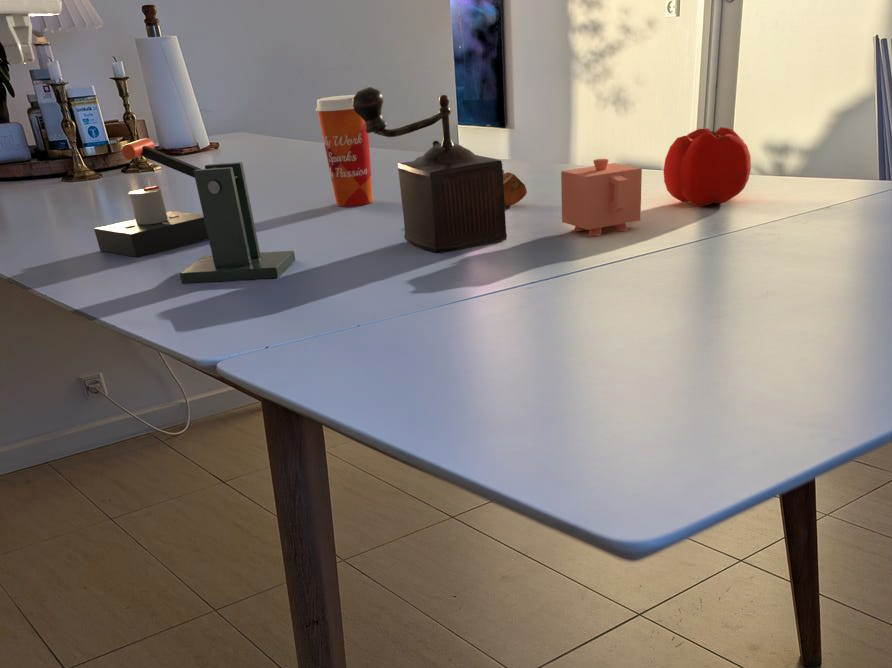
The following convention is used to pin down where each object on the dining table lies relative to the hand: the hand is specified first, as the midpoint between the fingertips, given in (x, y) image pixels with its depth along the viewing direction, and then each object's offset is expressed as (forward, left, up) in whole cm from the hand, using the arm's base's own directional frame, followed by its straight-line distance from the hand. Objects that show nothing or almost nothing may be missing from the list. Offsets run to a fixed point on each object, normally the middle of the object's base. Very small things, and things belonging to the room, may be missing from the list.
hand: (22, 63), depth 106 cm
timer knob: (+15, +7, -20) cm, 26 cm away
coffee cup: (+49, +2, -24) cm, 55 cm away
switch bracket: (+10, -20, -23) cm, 32 cm away
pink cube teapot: (+47, -48, -24) cm, 71 cm away
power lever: (+7, -16, -12) cm, 22 cm away
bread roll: (+55, -25, -24) cm, 65 cm away
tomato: (+67, -52, -24) cm, 88 cm away
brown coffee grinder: (+32, -33, -24) cm, 52 cm away
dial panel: (+15, +7, -23) cm, 29 cm away
